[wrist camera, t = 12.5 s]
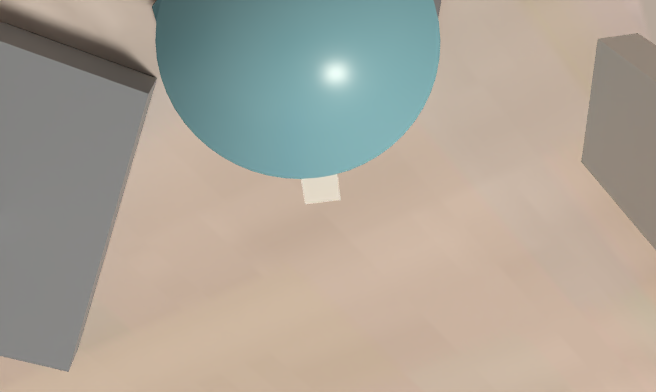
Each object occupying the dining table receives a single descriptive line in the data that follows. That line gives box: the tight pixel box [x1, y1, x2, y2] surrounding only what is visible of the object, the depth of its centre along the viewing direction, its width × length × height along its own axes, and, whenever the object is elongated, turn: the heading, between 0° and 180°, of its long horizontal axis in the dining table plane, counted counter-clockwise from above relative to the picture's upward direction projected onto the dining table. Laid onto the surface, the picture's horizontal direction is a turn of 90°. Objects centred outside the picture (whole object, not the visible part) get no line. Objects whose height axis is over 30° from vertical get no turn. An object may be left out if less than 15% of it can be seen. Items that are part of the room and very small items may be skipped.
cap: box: [152, 0, 440, 204], centre depth 19 cm, size 11×8×6 cm
